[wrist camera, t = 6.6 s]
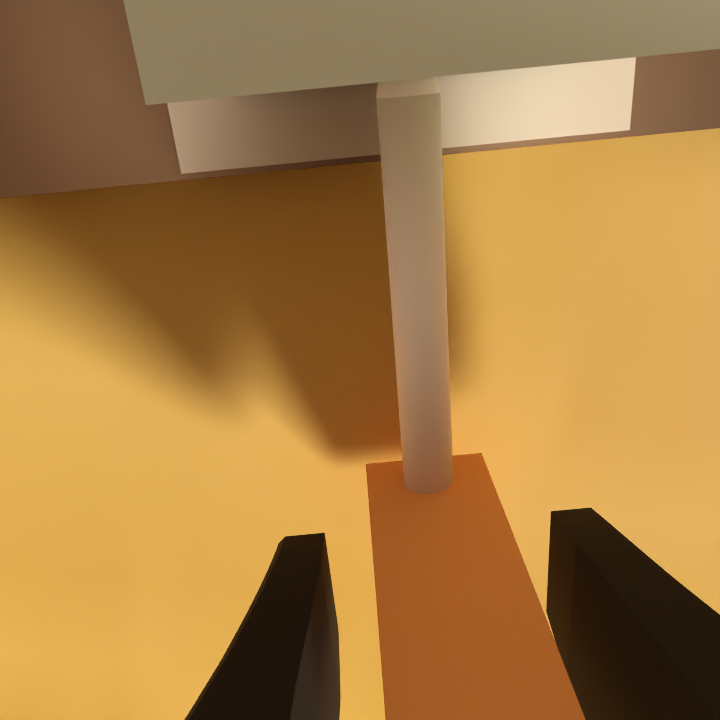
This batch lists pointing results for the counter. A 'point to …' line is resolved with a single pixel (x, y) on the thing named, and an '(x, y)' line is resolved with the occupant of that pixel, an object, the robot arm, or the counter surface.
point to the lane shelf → (289, 109)
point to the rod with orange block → (421, 298)
